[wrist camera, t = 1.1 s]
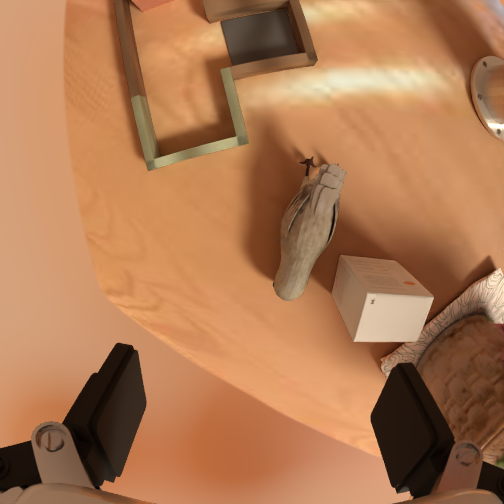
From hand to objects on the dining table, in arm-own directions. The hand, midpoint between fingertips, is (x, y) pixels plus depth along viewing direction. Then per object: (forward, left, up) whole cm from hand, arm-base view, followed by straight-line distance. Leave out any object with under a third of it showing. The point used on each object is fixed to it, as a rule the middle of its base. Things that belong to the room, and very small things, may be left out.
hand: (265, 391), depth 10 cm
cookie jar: (-28, +29, -27) cm, 48 cm away
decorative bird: (-4, +2, -27) cm, 27 cm away
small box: (-11, +10, -27) cm, 30 cm away
